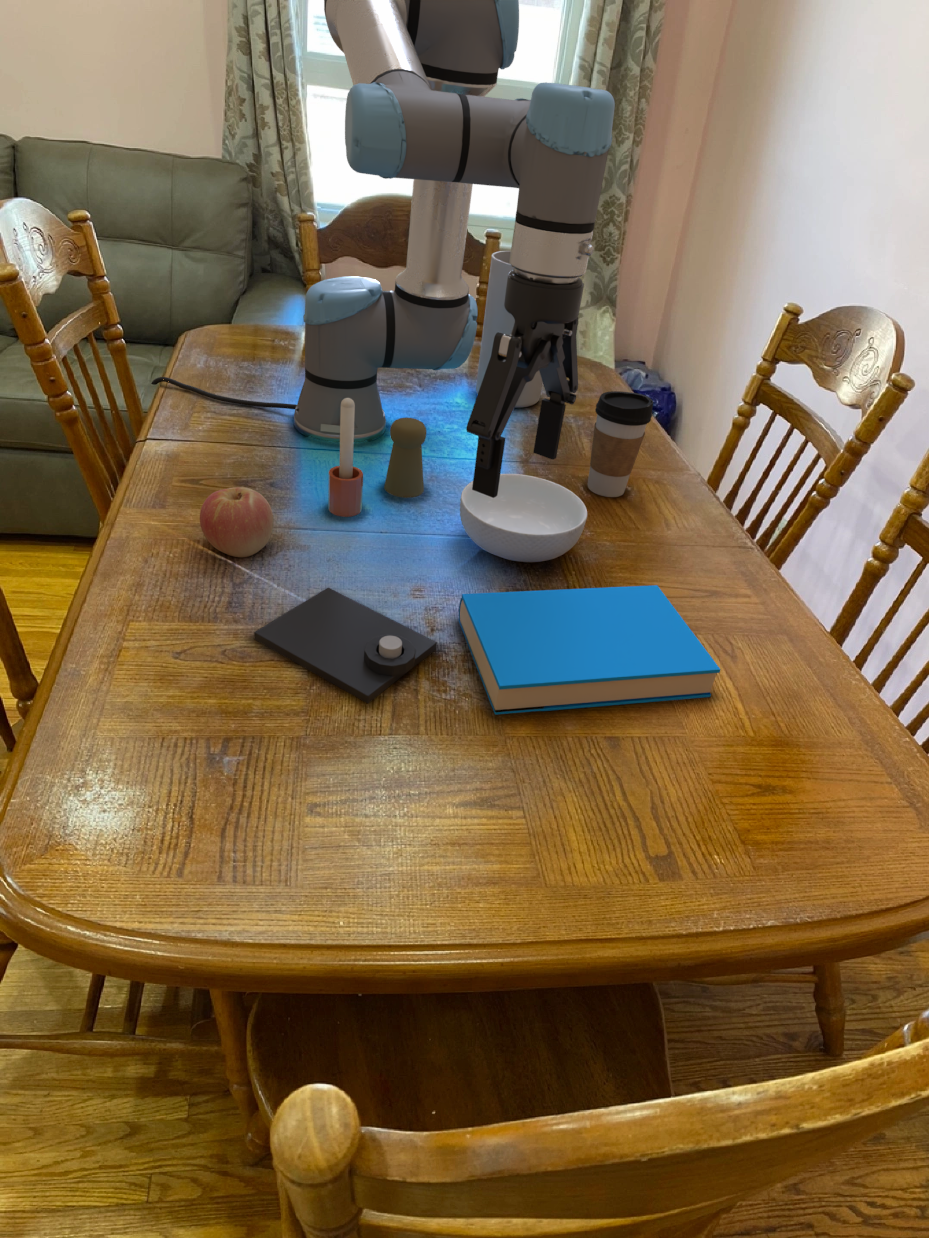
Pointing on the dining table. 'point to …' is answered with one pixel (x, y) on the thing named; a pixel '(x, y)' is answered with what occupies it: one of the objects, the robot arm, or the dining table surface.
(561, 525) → the cereal bowl
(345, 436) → the beige rod
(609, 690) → the book
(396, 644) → the button
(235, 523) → the apple
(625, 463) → the coffee cup
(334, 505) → the pen pot
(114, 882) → the dining table surface
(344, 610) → the tablet
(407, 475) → the cork
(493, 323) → the cylinder vase
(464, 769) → the dining table surface
